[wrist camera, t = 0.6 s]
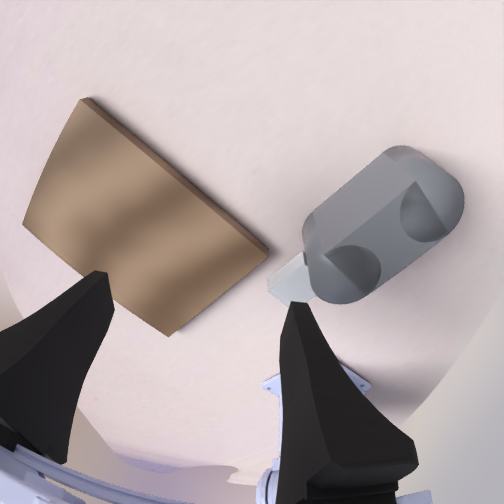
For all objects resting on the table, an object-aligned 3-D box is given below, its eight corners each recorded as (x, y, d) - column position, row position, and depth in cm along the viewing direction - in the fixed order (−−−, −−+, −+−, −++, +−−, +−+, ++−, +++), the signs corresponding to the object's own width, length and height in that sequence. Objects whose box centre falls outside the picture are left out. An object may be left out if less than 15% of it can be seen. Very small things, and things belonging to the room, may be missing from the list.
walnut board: (268, 248, 21) (268, 257, 21) (171, 329, 27) (168, 337, 26) (87, 97, 16) (79, 99, 15) (28, 218, 21) (22, 224, 20)
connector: (436, 178, 18) (473, 212, 14) (298, 287, 23) (302, 337, 19) (405, 133, 16) (444, 156, 12) (260, 255, 22) (257, 303, 18)
